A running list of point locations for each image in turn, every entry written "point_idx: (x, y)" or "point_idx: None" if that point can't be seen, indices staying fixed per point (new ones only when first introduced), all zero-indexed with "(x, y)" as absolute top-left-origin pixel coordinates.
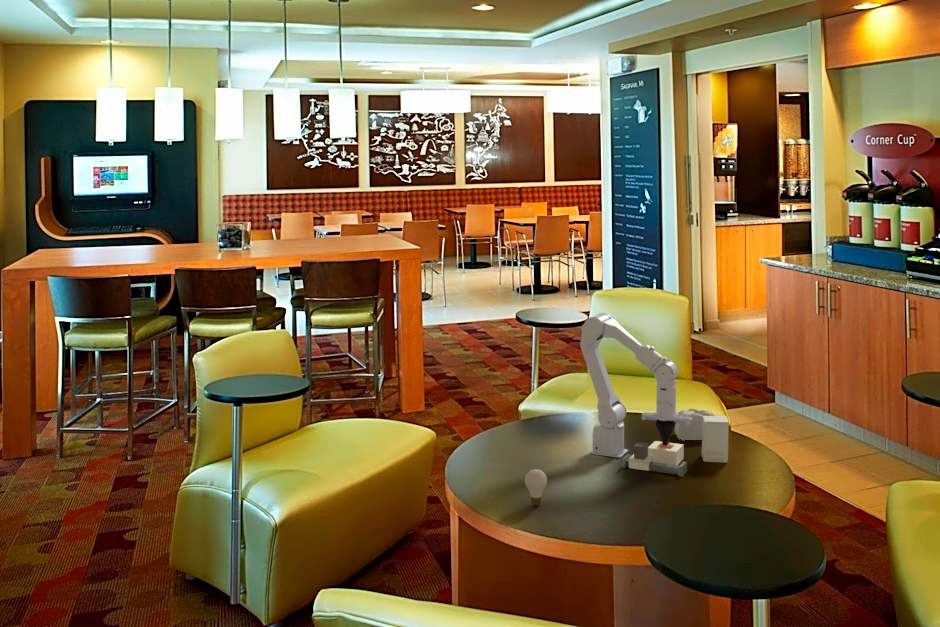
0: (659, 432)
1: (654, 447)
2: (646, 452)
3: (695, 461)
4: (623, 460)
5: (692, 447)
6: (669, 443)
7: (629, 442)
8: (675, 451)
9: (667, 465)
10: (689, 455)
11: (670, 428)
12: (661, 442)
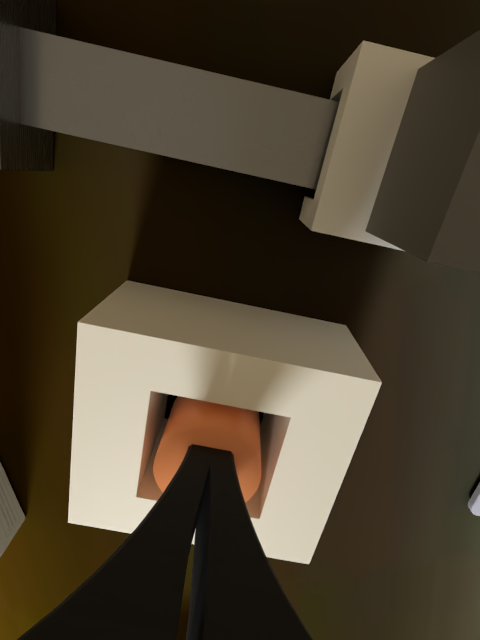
0: (269, 570)
1: (309, 409)
2: (405, 179)
3: (29, 405)
4: None
5: None
6: None
7: (442, 625)
8: (89, 327)
9: (156, 100)
10: None
11: (40, 629)
12: None
